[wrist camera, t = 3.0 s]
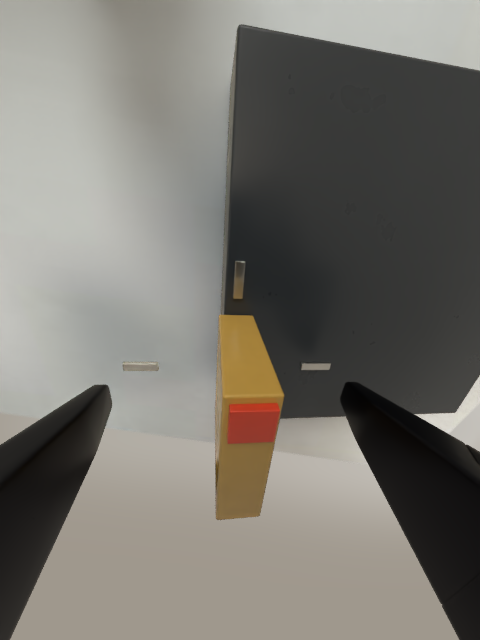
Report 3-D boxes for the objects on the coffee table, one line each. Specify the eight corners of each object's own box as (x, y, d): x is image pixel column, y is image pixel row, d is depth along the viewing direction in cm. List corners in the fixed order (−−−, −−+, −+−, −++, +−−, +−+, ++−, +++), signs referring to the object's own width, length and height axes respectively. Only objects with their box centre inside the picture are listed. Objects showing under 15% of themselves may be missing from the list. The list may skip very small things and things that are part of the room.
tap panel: (408, 391, 16) (450, 428, 13) (152, 396, 14) (135, 442, 11) (537, 134, 10) (665, 101, 7) (113, 66, 8) (54, -21, 5)
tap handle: (243, 407, 11) (261, 526, 7) (215, 407, 11) (215, 531, 7) (253, 314, 9) (289, 404, 5) (218, 313, 9) (223, 405, 5)
